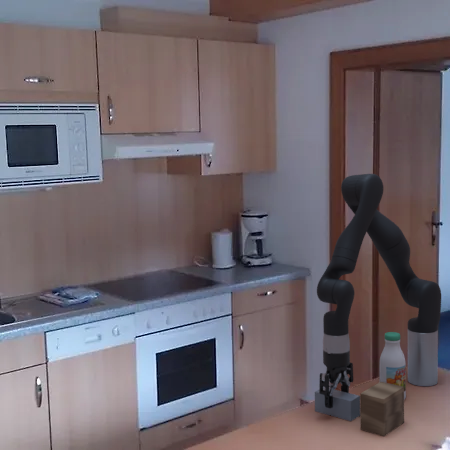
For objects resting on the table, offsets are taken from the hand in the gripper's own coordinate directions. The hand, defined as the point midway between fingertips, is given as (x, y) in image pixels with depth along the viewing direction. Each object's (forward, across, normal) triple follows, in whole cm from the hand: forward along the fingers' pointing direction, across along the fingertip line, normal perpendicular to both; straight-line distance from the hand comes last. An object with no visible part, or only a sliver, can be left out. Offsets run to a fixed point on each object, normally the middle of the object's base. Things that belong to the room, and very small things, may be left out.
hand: (337, 402), depth 196 cm
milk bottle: (+3, -20, +7) cm, 21 cm away
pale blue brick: (+3, 0, 0) cm, 3 cm away
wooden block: (+3, 0, +14) cm, 15 cm away
